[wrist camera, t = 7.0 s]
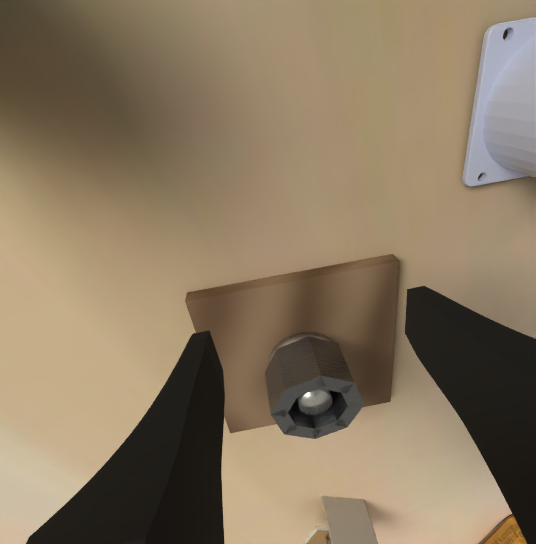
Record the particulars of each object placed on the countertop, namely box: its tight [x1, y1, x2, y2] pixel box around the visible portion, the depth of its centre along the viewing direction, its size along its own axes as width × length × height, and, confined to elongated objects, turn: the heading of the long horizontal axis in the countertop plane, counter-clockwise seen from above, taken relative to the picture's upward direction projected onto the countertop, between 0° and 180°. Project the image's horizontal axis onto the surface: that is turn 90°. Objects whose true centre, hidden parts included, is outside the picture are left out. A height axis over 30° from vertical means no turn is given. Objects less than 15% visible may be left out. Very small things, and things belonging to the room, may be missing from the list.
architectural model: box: [305, 496, 378, 544], centre depth 36 cm, size 3×7×7 cm, turn 70°
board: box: [185, 254, 399, 433], centre depth 26 cm, size 14×14×1 cm
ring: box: [265, 336, 364, 439], centre depth 23 cm, size 6×6×4 cm
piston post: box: [269, 332, 333, 415], centre depth 23 cm, size 5×5×4 cm
